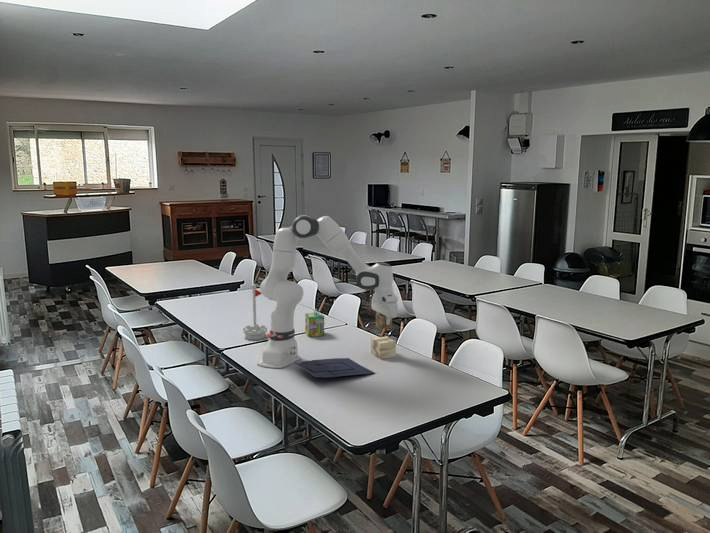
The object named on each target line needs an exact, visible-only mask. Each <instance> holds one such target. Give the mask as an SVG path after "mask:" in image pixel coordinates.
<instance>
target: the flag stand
mask: <svg viewBox="0 0 710 533" xmlns="http://www.w3.org/2000/svg"><path fill="white" fill-rule="evenodd" d="M250 287H251V290H252V313H253V315H252V318H253V326H251V324H248V325H245V326H243V328H242V332H243V334H244V335H245V338H246V340H261V339H264V338H266V333H267V332H268V326H266V325H265V324H261V325H259V324H258V323H257V303H256V302H257V297H258V296H260V295H262V294H261V292H260V290H258V289H256V288H257V285H256V284H255V283H252V284H251V286H250Z"/></svg>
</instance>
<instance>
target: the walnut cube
mask: <svg viewBox="0 0 710 533" xmlns="http://www.w3.org/2000/svg"><path fill="white" fill-rule="evenodd" d="M386 319H387V318H386V316H385V315H383V314H377V313H376V314H375V327H377V328H379V329H380V330H384V329H390V328H393V318H391V320H390V324H389V325H386V324H385V321H386Z"/></svg>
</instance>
